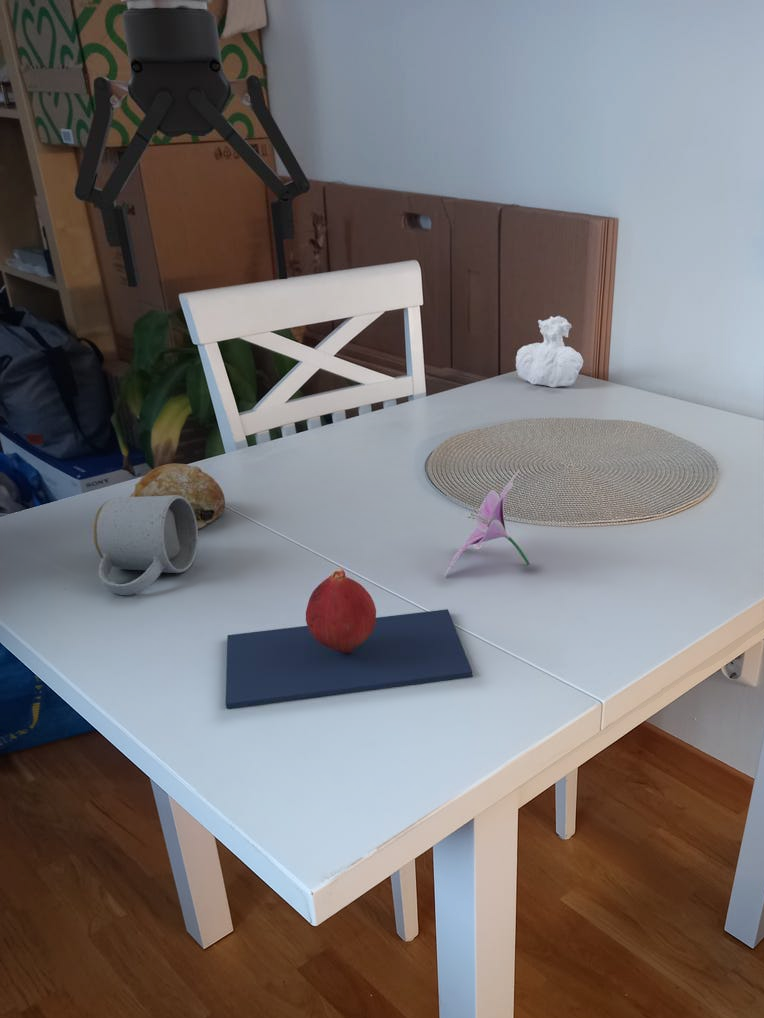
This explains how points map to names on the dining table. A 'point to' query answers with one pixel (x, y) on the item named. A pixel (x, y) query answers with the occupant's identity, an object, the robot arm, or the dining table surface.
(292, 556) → the dining table surface
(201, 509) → the bread roll
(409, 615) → the board
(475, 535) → the lily
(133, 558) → the ceramic mug
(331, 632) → the onion
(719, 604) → the dining table surface
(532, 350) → the bust
